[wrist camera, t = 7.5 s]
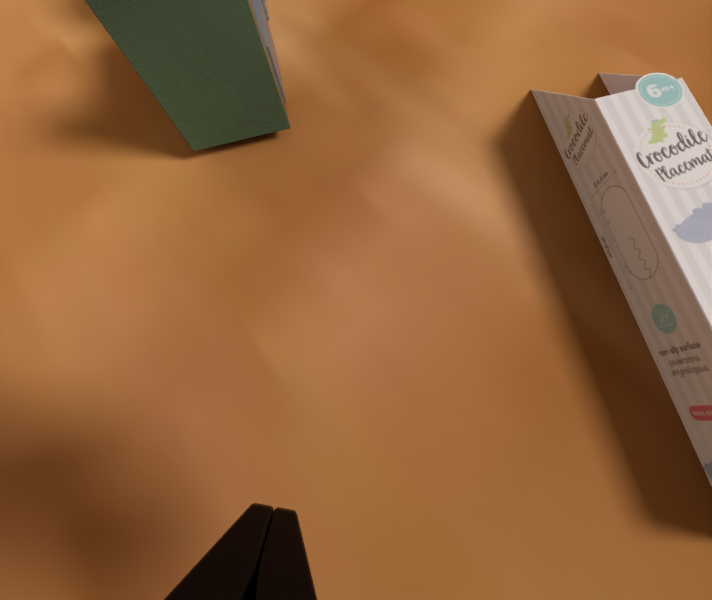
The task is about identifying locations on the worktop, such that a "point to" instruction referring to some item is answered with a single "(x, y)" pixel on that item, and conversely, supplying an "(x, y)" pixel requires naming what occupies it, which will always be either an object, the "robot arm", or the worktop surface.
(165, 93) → the teal green slab
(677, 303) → the box
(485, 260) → the worktop surface
